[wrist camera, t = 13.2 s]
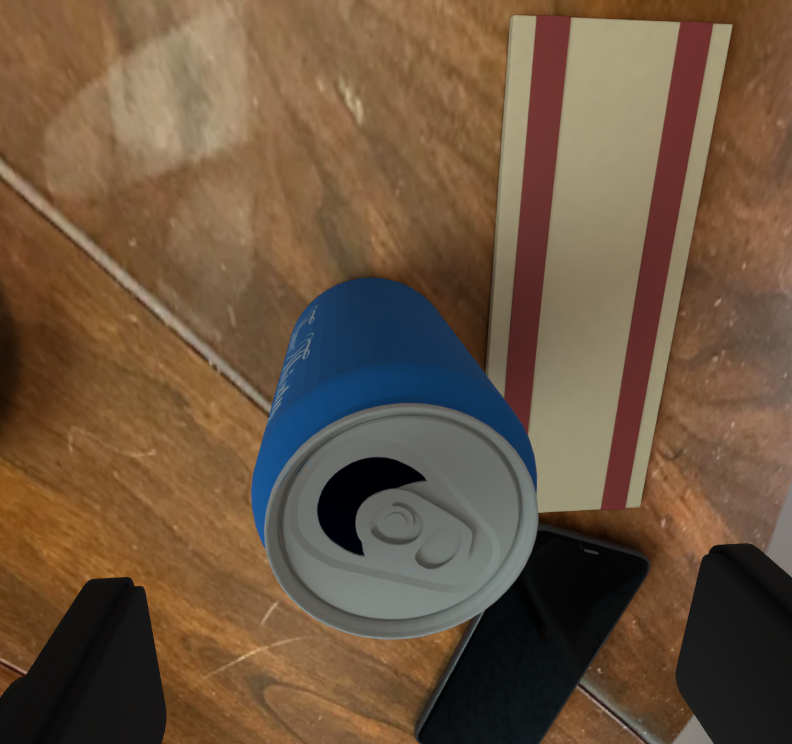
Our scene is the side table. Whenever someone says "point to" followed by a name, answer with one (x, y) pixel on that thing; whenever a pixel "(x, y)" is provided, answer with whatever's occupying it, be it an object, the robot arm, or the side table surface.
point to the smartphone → (533, 642)
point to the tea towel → (596, 238)
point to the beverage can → (391, 469)
